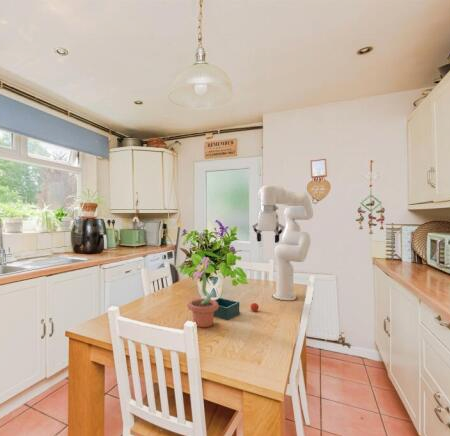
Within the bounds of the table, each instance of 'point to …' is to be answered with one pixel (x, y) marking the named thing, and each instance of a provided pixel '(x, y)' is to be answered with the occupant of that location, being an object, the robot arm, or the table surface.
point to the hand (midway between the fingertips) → (267, 241)
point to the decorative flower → (203, 307)
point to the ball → (254, 306)
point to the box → (226, 308)
